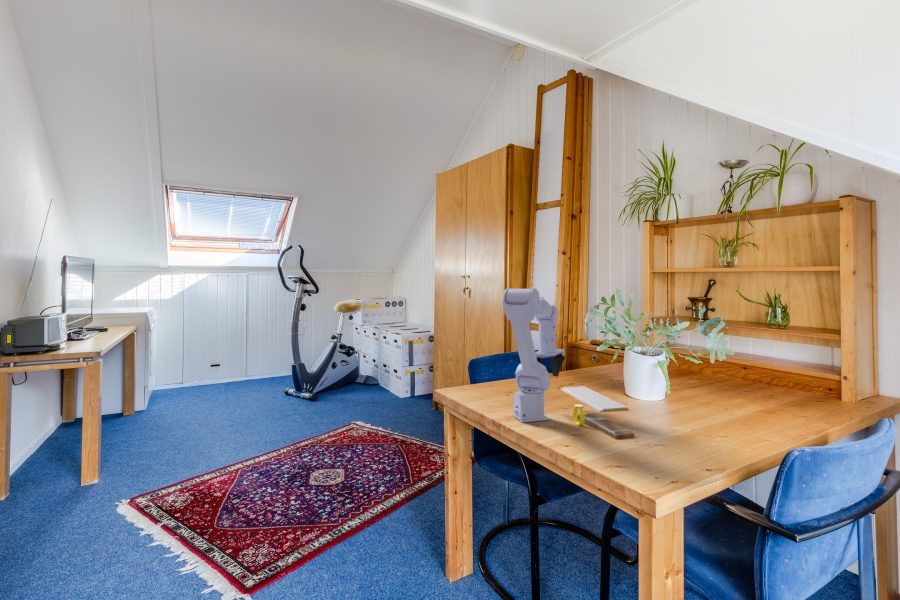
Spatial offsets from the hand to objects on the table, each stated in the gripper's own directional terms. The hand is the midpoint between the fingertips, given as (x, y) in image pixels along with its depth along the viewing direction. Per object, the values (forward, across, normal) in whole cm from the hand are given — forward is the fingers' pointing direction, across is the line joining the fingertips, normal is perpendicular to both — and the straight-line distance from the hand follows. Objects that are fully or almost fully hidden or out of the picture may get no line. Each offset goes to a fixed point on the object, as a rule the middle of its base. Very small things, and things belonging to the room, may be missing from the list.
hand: (547, 377), depth 159 cm
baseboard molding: (+12, +20, 0) cm, 23 cm away
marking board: (+10, 0, -25) cm, 27 cm away
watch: (+10, -5, -19) cm, 22 cm away
